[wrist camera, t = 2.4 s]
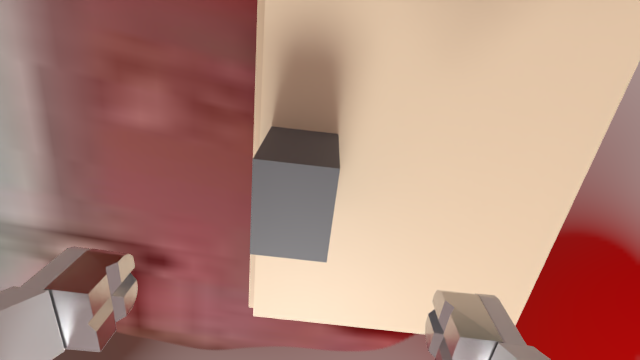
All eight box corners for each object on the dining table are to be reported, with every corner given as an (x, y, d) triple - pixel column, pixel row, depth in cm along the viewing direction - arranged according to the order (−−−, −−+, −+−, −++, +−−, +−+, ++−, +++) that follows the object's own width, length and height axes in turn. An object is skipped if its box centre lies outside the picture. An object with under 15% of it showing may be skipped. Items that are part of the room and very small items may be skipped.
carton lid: (271, -75, 13) (240, -121, 9) (662, -26, 13) (822, -48, 9) (255, 305, 21) (235, 380, 17) (501, 332, 21) (544, 412, 17)
